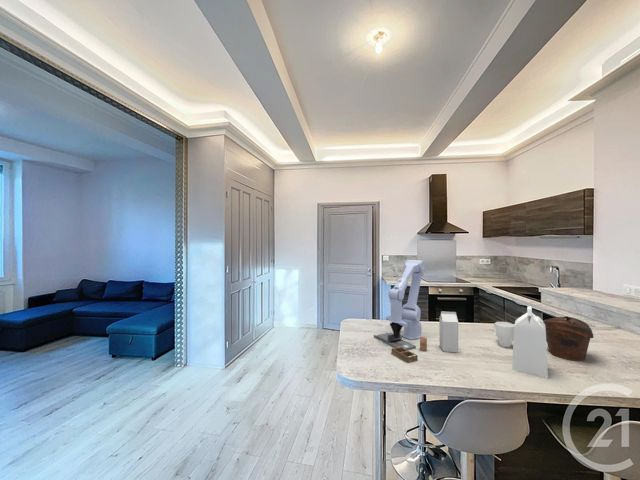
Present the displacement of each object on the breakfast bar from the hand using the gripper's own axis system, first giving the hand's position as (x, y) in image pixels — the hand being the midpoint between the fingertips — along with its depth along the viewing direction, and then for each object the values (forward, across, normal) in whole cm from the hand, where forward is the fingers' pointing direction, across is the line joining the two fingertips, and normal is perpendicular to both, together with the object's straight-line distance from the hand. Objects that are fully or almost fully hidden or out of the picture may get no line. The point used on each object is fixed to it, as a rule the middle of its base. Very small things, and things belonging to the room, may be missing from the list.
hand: (396, 336), depth 143 cm
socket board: (+4, +14, -8) cm, 17 cm away
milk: (+4, +46, +32) cm, 57 cm away
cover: (+2, -6, 0) cm, 6 cm away
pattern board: (+4, -2, 0) cm, 4 cm away
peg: (+4, +12, +6) cm, 14 cm away
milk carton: (+4, +17, +18) cm, 26 cm away
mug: (+4, +25, +50) cm, 56 cm away
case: (+4, +46, +64) cm, 79 cm away
